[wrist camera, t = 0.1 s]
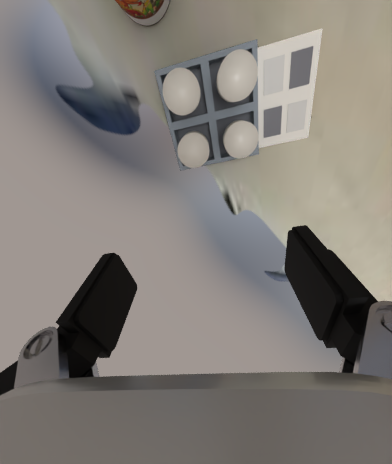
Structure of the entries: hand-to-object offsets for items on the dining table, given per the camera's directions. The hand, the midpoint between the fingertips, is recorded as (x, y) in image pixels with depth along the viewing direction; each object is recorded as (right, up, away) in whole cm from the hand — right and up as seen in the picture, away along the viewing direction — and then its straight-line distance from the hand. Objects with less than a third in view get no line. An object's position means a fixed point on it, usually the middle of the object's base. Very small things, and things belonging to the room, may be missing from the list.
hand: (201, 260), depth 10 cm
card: (+15, +24, +20) cm, 35 cm away
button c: (-1, +17, +22) cm, 28 cm away
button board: (+2, +23, +22) cm, 32 cm away
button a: (-2, +23, +18) cm, 29 cm away
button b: (+5, +24, +17) cm, 30 cm away
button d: (+7, +18, +21) cm, 28 cm away
